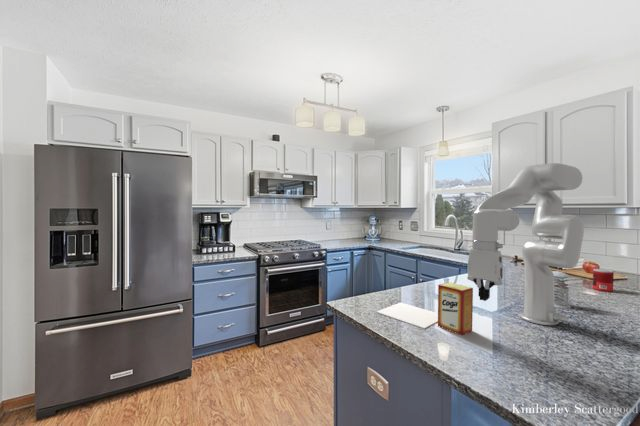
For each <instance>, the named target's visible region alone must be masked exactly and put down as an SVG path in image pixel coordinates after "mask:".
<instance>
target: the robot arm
mask: <svg viewBox="0 0 640 426" xmlns="http://www.w3.org/2000/svg"><path fill="white" fill-rule="evenodd" d="M582 183H583V174H582V172H581V171H580V169H579V168H578V167H575V166H572V165H568V164H565V163H559V162H558V163H557V162H550V163H542V164H541V163H540V164H532V165H528V166H525V167H524V168H522V169H521V170H520V171H519V172H518V173H517V175H516V176H515V177H514V179H513V180H512V181H511V182H510V184H509V185H508V187H506V188H504V189H502V190H500V191H498V192H496V193H495V194H493V195H491V196H489V197H487V198H486V199H485V200H483V201H482V202H481V203H480V204H479V206H478V207H477V209H476V210H474V211H473V213H472V248H470V251H469V254H468V258H467V259H468V260H467V280H469V281H471V282H473V283H474V284H475V286H476V287H477V289H478V297H479V300H480V301H484V302H486V301H488V300H489V299H490V297H491V295H490V294H491V288H492V287H495V286H502V285H503V279H504V265H503V257H502V251H501V250H499V249H503V244H502V243H500V242H499V231H500V232H510V231H513V230H515V229H517V228H518V226H519V224H520V220H521V219H520V217H519V215H518V213H517V212H515V211H514V210H512V208H516V207H520V206H523V205H525V204H528V203H529V202H530V201H531V199H532V198H533V197H534V198H535V210H534V215H533V220H532V225H531V232H532V234H533V235H534V236H535V237H539V238H543V239H552V240H553V239H554V240H555V239H556V240H562V242H561V241H552V240H543V239H532V240H527V241H526V242H525V243H524V244H523V245H522V251H521V252H522V257H523V258H522V259H523V264H524V265H523V266H524V289H523V290H524V292H523V293H524V295H523V296H524V297H523V300H524V302H523V310H522V311H520V312H519V314H518V315H519V317H520V318H521V319H522V320H524V321H527V322H529V323H532V324H537V325H542V326H557V325H559V324H560V322H564V323H569V321H570V320H569V317H567V315H565V314H564V315H563V314H559V313H558V312H557V310H556V309H555V307H554V294H555V293H554V288H556V287H555V282H556V279H555V278H556V277H554V274H553V272H552V271H553V270H552V269H551V268H550V267H554V268H561V269H562V268H563V269H568V270H569V269H574V268H575V267H577V265H578V264H579V260H580V255H581V251H582V245H583V239H584V233H585V226H584V221H583V220H582V218H581V217H579V216H578V215H574V214H562V213H563V207H564V205H563V201H562V199H561V198H560V196H559V195H557V193H555V192H554V191H556V192H557V191H573V190H577V189H578V188H579V187H580V186H581V185H582ZM484 281H485V282H484ZM484 283H485V284H484Z"/></svg>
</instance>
